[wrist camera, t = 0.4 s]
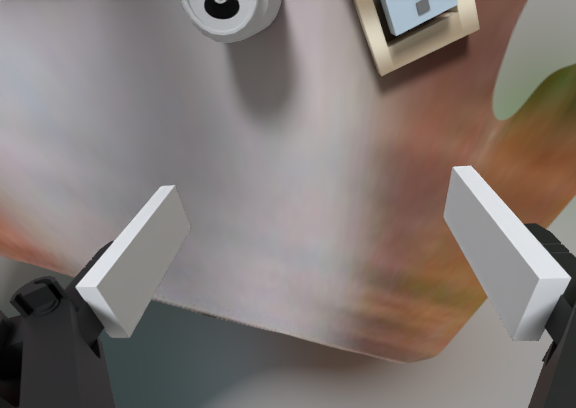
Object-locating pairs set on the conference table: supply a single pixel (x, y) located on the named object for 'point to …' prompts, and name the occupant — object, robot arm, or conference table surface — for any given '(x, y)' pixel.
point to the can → (231, 17)
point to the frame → (415, 34)
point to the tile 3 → (412, 12)
